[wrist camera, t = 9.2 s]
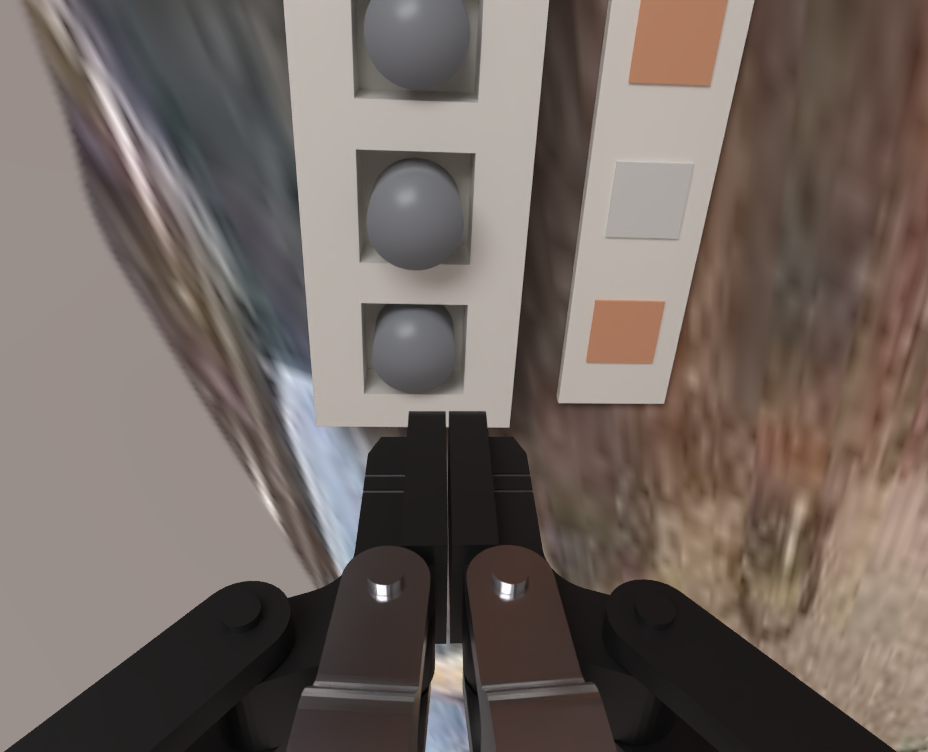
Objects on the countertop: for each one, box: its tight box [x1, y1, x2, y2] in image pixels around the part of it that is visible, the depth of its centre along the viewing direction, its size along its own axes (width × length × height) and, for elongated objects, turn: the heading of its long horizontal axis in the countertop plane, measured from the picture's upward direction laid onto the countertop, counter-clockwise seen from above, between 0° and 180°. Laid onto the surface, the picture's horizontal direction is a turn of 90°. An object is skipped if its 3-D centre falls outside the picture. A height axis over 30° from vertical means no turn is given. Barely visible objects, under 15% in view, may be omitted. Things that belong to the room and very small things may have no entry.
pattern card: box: [557, 0, 754, 404], centre depth 34 cm, size 6×23×1 cm, turn 178°
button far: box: [372, 304, 456, 393], centre depth 35 cm, size 4×4×3 cm
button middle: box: [366, 158, 464, 270], centre depth 30 cm, size 4×4×3 cm
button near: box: [364, 0, 470, 90], centre depth 28 cm, size 4×4×3 cm
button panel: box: [283, 0, 549, 428], centre depth 32 cm, size 10×23×3 cm, turn 178°
